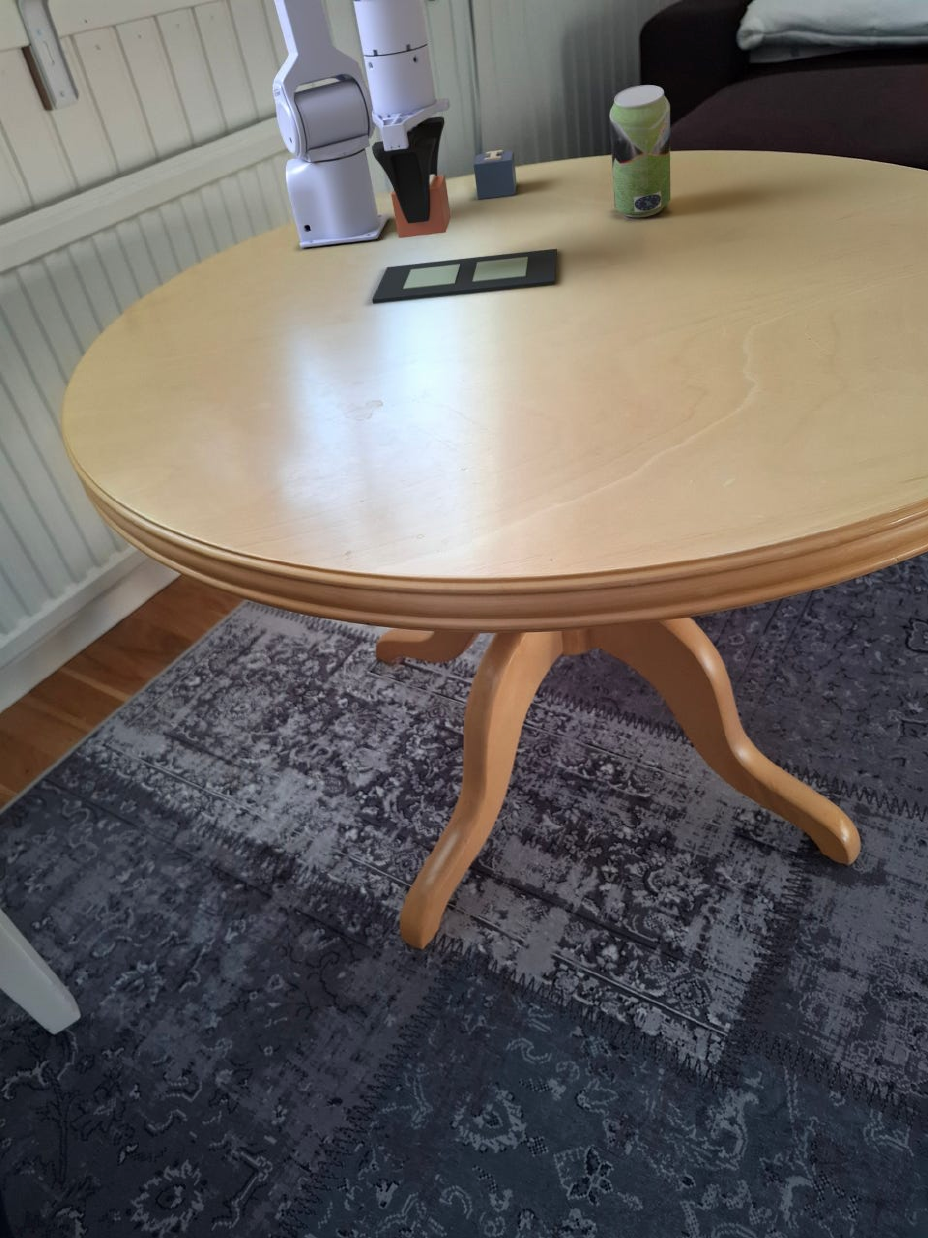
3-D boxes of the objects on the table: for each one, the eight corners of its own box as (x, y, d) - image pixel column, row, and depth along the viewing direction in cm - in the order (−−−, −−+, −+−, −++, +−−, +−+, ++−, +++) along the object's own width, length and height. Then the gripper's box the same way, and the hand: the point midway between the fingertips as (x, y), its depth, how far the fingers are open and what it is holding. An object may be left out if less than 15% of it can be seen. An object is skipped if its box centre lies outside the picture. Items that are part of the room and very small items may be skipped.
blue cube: (477, 199, 110) (473, 161, 107) (481, 188, 113) (476, 151, 110) (514, 194, 109) (511, 156, 106) (516, 184, 112) (513, 147, 110)
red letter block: (398, 238, 85) (390, 190, 83) (406, 222, 89) (398, 176, 86) (445, 232, 85) (438, 184, 82) (451, 217, 88) (444, 170, 85)
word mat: (372, 303, 88) (371, 298, 87) (387, 270, 94) (386, 265, 94) (555, 284, 85) (554, 279, 84) (557, 252, 91) (556, 247, 91)
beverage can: (668, 199, 99) (669, 76, 91) (673, 220, 94) (675, 91, 86) (611, 206, 100) (607, 85, 92) (613, 227, 95) (609, 100, 87)
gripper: (429, 57, 71) (454, 232, 80) (450, 29, 82) (470, 186, 91) (344, 69, 72) (378, 241, 81) (376, 40, 83) (402, 194, 92)
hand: (422, 212), depth 86 cm, fingers closed on red letter block, 4 cm apart
